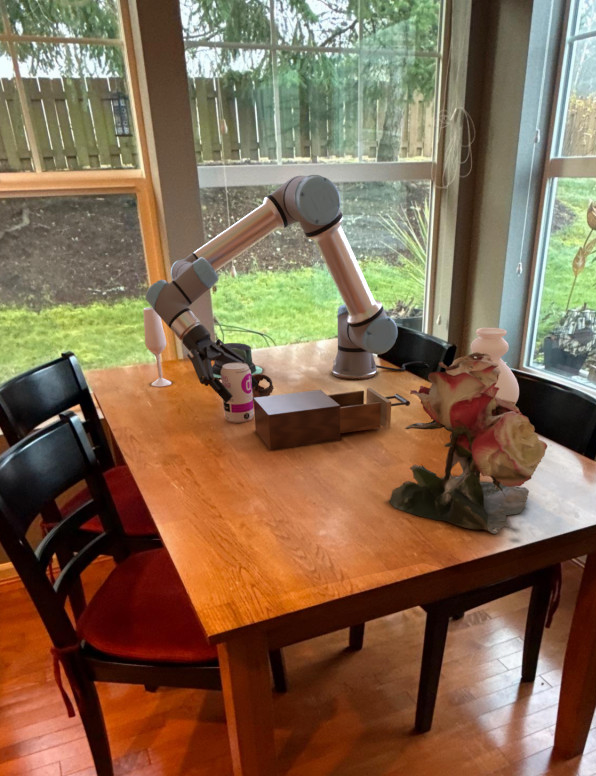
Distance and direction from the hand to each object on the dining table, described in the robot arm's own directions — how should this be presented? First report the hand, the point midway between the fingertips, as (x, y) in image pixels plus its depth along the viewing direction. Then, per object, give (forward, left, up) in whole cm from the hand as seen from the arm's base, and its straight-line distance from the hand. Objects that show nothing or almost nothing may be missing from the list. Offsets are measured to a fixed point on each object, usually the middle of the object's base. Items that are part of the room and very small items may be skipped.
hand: (242, 392), depth 174 cm
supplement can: (+1, -1, -8) cm, 8 cm away
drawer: (-29, +18, -7) cm, 34 cm away
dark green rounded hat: (-9, -50, -8) cm, 52 cm away
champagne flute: (+17, -45, -8) cm, 49 cm away
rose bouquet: (-32, +67, -8) cm, 74 cm away
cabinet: (-10, +18, -8) cm, 22 cm away
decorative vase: (-59, +29, -8) cm, 66 cm away
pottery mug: (-8, -18, -8) cm, 21 cm away
